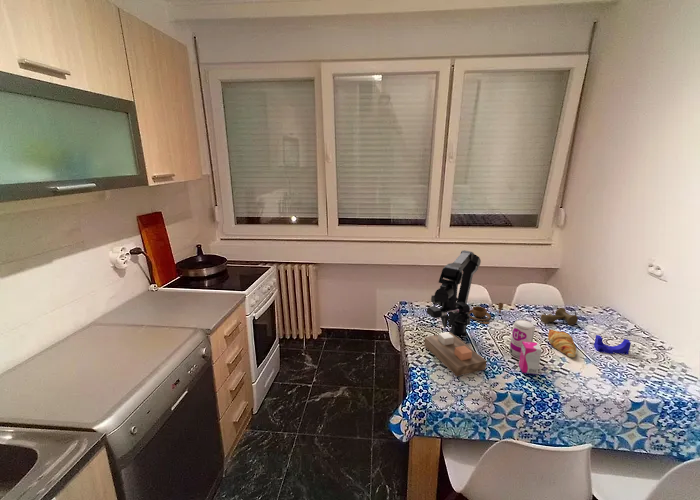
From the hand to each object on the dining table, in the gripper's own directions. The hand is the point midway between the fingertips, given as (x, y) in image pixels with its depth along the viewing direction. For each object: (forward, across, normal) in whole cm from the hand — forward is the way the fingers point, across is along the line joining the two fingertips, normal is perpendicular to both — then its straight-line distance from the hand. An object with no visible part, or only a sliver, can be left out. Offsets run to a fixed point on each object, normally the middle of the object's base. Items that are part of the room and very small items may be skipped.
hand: (446, 327), depth 146 cm
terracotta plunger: (+7, 0, +12) cm, 14 cm away
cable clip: (+12, -70, +26) cm, 76 cm away
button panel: (+11, 0, +6) cm, 13 cm away
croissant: (+12, -52, +15) cm, 55 cm away
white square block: (+7, 0, 0) cm, 7 cm away
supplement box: (+11, -23, +24) cm, 35 cm away
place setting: (+12, -41, -20) cm, 47 cm away
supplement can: (+11, -29, +14) cm, 34 cm away
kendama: (+12, -74, -3) cm, 75 cm away
